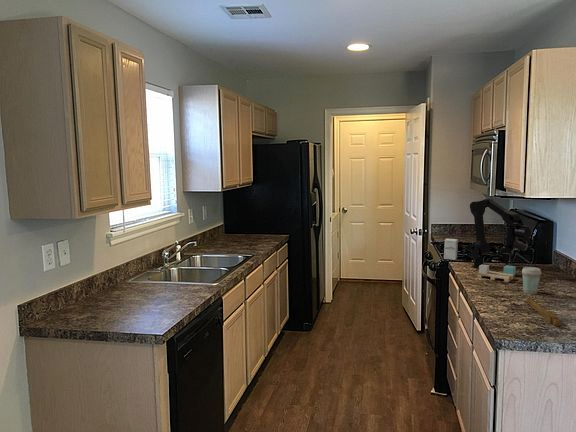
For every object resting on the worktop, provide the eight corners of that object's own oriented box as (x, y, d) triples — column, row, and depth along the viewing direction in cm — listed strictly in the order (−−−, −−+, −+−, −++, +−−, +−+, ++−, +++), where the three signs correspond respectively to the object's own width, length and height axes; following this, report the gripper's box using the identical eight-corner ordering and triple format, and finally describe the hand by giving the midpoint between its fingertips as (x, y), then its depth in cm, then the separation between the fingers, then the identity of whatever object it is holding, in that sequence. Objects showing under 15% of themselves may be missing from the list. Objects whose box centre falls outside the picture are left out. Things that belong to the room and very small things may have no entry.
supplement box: (443, 259, 307) (444, 239, 305) (445, 256, 313) (446, 238, 312) (455, 260, 303) (456, 240, 302) (457, 258, 310) (458, 238, 308)
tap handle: (533, 297, 215) (562, 320, 185) (532, 304, 215) (562, 328, 186) (526, 297, 215) (554, 320, 186) (525, 304, 215) (553, 327, 186)
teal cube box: (505, 273, 269) (506, 265, 268) (515, 275, 266) (515, 266, 265) (503, 275, 265) (503, 266, 265) (512, 277, 262) (513, 268, 261)
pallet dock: (482, 274, 268) (483, 269, 268) (513, 278, 258) (513, 274, 257) (477, 277, 261) (477, 272, 261) (508, 282, 251) (508, 277, 251)
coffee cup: (528, 295, 227) (529, 271, 226) (516, 290, 236) (518, 267, 234) (544, 294, 228) (545, 270, 227) (532, 289, 237) (533, 266, 235)
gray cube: (481, 271, 264) (481, 264, 263) (488, 272, 261) (489, 265, 261) (478, 272, 261) (479, 265, 260) (486, 274, 258) (486, 266, 258)
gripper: (522, 239, 250) (520, 268, 252) (531, 235, 264) (529, 262, 266) (500, 237, 258) (498, 265, 260) (510, 233, 272) (508, 259, 274)
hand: (509, 263), depth 265 cm, fingers open, 9 cm apart
